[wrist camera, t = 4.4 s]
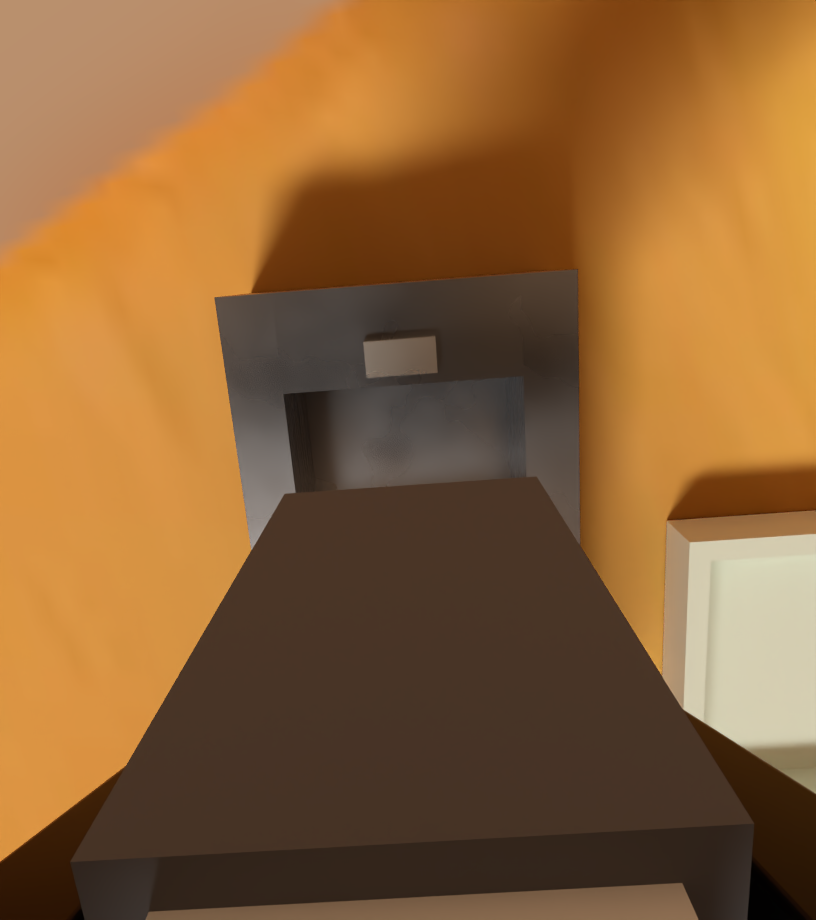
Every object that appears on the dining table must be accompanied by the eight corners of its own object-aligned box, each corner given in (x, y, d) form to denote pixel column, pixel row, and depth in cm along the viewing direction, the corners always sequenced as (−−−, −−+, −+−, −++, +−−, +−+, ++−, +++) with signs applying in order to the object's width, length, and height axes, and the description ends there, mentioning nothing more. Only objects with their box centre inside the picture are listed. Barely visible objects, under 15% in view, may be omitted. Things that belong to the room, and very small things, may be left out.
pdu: (546, 270, 18) (659, 266, 10) (558, 869, 23) (638, 1190, 15) (250, 293, 18) (121, 308, 10) (328, 882, 24) (285, 1207, 15)
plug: (536, 476, 11) (870, 1006, 3) (542, 697, 12) (796, 1515, 4) (284, 493, 11) (-39, 1048, 3) (312, 711, 12) (124, 1535, 4)
